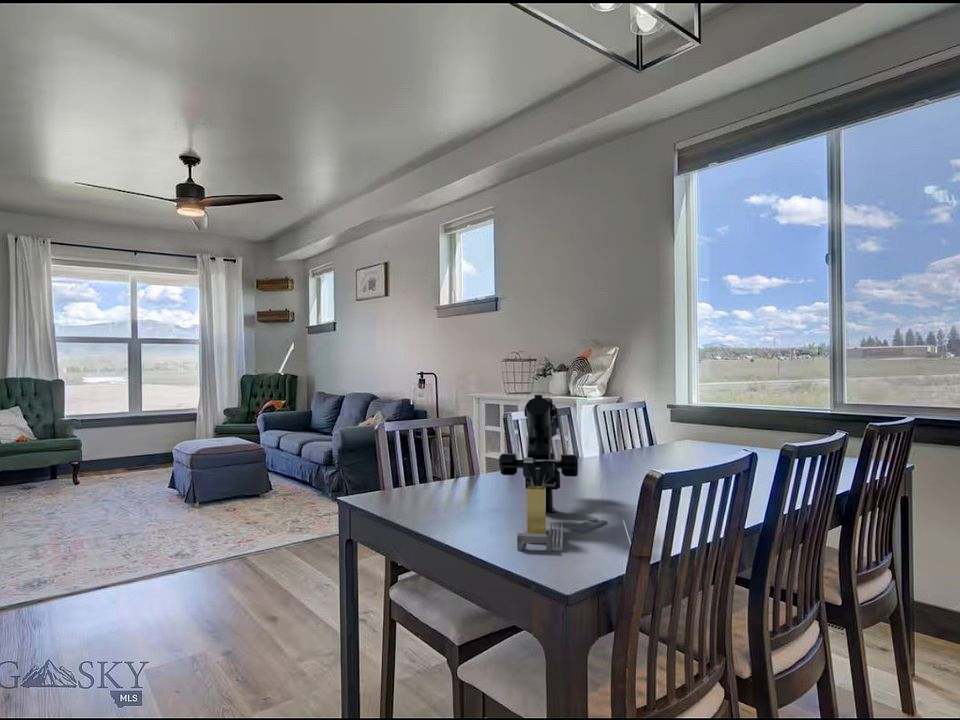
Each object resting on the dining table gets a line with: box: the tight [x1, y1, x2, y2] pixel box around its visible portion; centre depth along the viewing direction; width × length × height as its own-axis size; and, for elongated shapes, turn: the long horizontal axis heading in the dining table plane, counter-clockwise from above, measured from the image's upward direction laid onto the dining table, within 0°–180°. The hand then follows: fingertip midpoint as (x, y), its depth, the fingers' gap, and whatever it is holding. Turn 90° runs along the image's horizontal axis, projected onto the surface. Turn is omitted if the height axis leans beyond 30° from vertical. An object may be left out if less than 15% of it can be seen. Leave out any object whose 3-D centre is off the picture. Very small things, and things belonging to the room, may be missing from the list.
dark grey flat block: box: [569, 517, 608, 534], centre depth 138 cm, size 4×10×2 cm, turn 138°
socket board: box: [516, 522, 564, 553], centre depth 128 cm, size 16×12×4 cm
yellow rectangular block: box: [526, 486, 547, 544], centre depth 129 cm, size 6×4×11 cm, turn 171°
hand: (537, 495), depth 135 cm, fingers closed
